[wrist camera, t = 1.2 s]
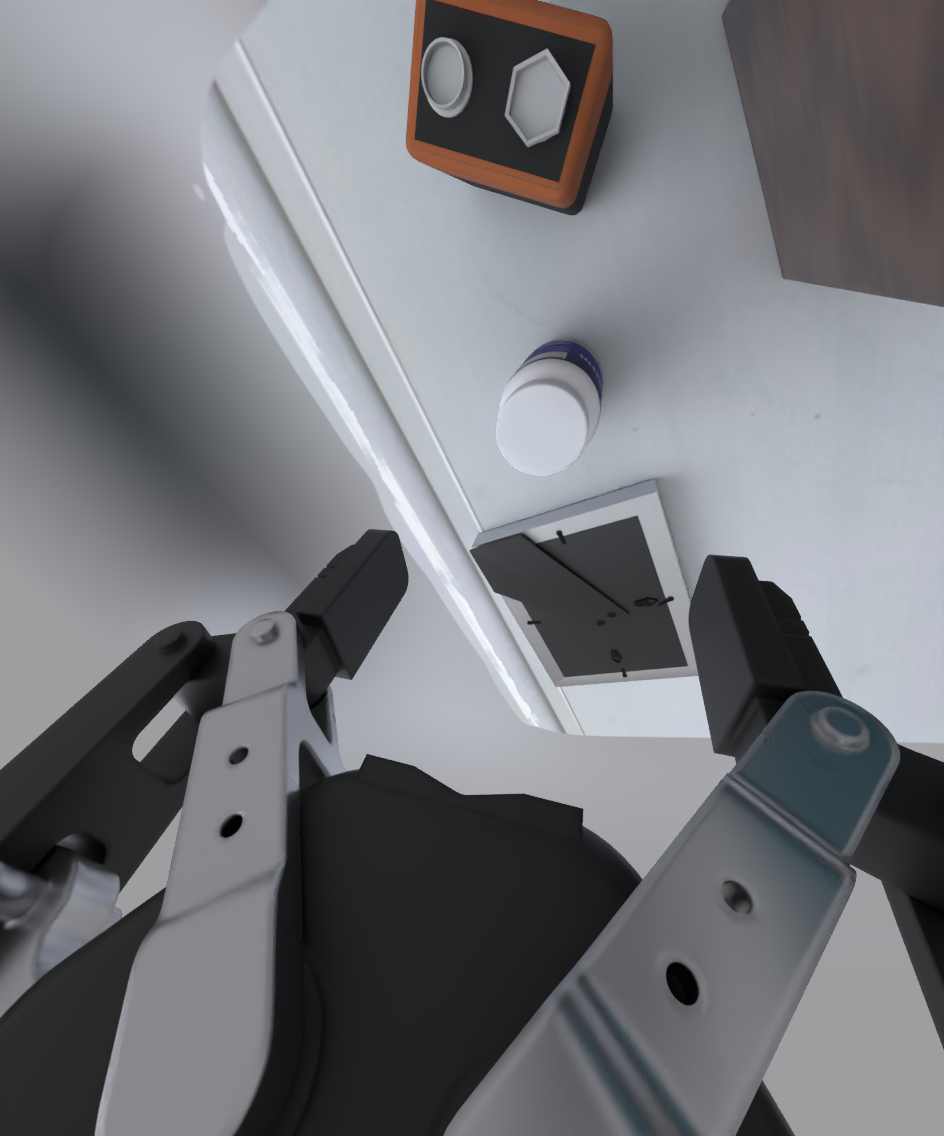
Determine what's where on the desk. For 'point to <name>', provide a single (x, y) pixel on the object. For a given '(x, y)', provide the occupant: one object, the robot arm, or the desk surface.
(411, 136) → the battery
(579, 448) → the pill bottle
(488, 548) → the picture frame
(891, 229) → the stand
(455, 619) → the desk surface
